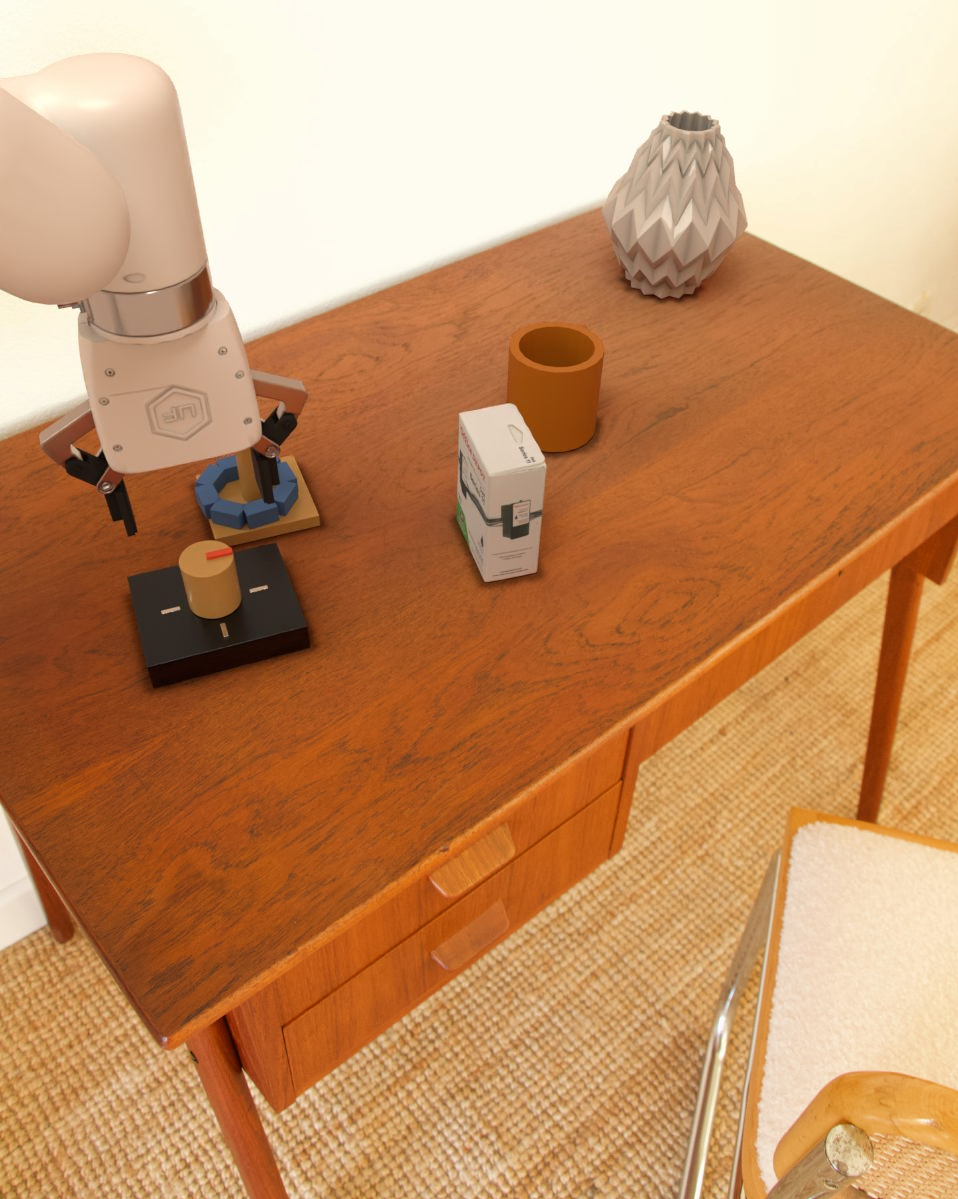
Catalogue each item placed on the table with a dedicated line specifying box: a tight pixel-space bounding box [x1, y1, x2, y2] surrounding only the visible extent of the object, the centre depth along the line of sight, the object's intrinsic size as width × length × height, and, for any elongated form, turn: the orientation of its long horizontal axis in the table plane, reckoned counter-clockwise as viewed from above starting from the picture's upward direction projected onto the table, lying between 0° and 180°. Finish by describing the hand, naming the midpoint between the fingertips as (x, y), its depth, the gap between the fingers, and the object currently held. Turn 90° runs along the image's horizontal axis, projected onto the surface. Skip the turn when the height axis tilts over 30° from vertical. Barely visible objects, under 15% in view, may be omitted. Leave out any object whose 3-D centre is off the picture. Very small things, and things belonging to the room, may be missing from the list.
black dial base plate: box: [126, 542, 311, 689], centre depth 80 cm, size 12×10×3 cm
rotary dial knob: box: [178, 539, 242, 619], centre depth 77 cm, size 4×4×5 cm
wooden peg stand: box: [195, 448, 321, 547], centre depth 87 cm, size 9×9×11 cm
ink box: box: [456, 403, 548, 583], centre depth 84 cm, size 9×5×12 cm, turn 17°
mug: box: [506, 321, 606, 453], centre depth 98 cm, size 9×12×9 cm
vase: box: [601, 109, 749, 300], centre depth 114 cm, size 16×16×18 cm
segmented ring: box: [193, 454, 298, 530], centre depth 89 cm, size 8×8×2 cm
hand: (199, 507), depth 73 cm, fingers open, 9 cm apart
